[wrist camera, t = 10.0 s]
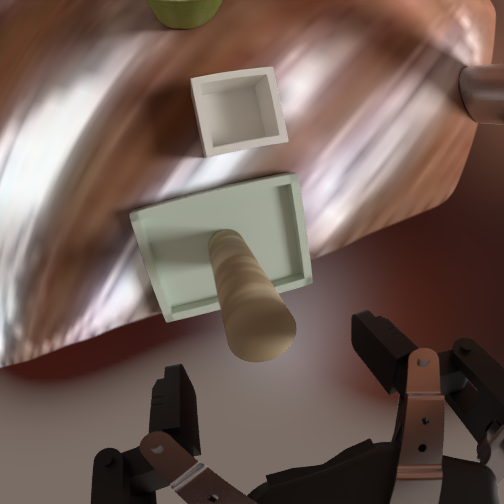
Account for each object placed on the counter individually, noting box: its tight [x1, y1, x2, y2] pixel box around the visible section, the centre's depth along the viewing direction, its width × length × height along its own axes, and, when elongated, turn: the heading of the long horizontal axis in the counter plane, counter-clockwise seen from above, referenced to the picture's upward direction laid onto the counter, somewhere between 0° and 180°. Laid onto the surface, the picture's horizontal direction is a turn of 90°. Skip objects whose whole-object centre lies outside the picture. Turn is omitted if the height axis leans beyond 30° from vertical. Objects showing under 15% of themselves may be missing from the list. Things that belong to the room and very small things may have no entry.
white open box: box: [191, 67, 289, 158], centre depth 21 cm, size 6×6×5 cm
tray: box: [129, 172, 313, 322], centre depth 26 cm, size 15×11×2 cm
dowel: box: [208, 229, 296, 362], centre depth 20 cm, size 3×3×14 cm
